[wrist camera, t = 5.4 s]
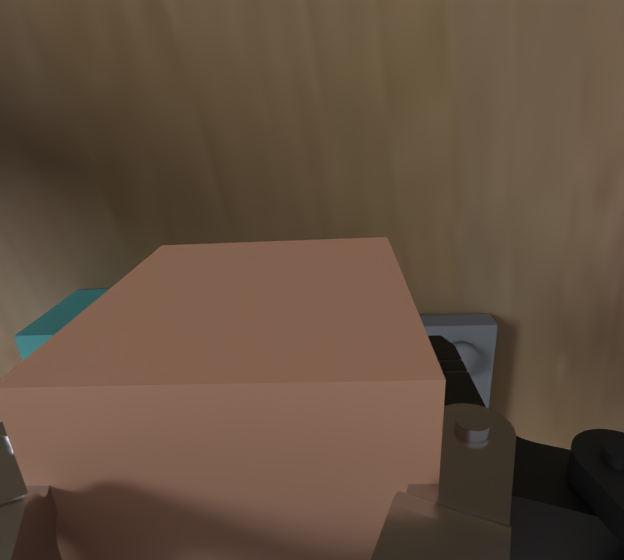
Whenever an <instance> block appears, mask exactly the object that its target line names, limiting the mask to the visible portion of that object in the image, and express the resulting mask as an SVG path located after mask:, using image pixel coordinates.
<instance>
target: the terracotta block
mask: <svg viewBox="0 0 624 560" xmlns="http://www.w3.org/2000/svg"><path fill="white" fill-rule="evenodd" d="M445 384H446V379H445V377H444V374H443V372H442V369H441V367H440V364H439V362H438V360H437V357H436V355H435V352H434V350H433V347H432V345H431V342H430V340H429V338H428V335H427V333H426V330H425V328H424V325H423V323H422V321H421V318H420V316H419V313H418V311H417V308H416V306H415V303H414V301H413V299H412V296H411V294H410V291H409V289H408V286H407V284H406V281H405V279H404V277H403V274H402V272H401V269H400V267H399V264H398V262H397V260H396V257H395V255H394V252H393V250H392V247H391V245H390V242H389V240H388V238H387V237H374V238H347V239H320V240H293V241H265V242H238V243H211V244H184V245H162V246H161V247H160V248H158V249H157V250H156V251H155V252H153V253H152V254H151V255H150V256H149V257H147V258H146V259H145V260H144V261H143V262H141V263H140V264H139V265H138V266H137V267H135V268H134V269H133V270H132V271H131V272H129V273H128V274H127V275H126V276H125V277H123V278H122V279H121V280H120V281H119V282H117V283H116V284H115V285H114V286H113V287H111V288H110V289H109V290H108V291H107V292H105V293H104V294H103V295H102V296H101V297H99V298H98V299H97V300H96V301H94V302H93V303H92V304H91V305H90V306H88V307H87V308H86V309H85V310H84V311H82V312H81V313H80V314H79V315H78V316H76V317H75V318H74V319H73V320H72V321H70V322H69V323H68V324H67V325H66V326H64V327H63V328H62V329H61V330H60V331H58V332H57V333H56V334H55V335H54V336H52V337H51V338H50V339H49V340H48V341H46V342H45V343H44V344H43V345H42V346H40V347H39V348H38V349H37V350H35V351H34V352H33V353H32V354H31V355H29V356H28V357H27V358H26V359H25V360H23V361H22V362H21V363H20V364H19V365H17V366H16V367H15V368H14V369H13V370H11V371H10V372H9V373H8V374H7V375H5V376H4V377H3V378H2V379H1V380H0V417H1V419H2V422H3V425H4V428H5V430H6V433H7V436H8V439H9V441H10V444H11V447H12V450H13V452H14V455H15V458H16V461H17V463H18V466H19V469H20V471H21V474H22V477H23V480H24V482H25V485H26V486H50V489H51V492H52V495H53V498H54V501H55V504H56V507H57V510H58V512H57V518H56V537H57V544H58V549H59V552H60V555H61V557H62V560H371V557H372V555H373V552H374V549H375V546H376V544H377V541H378V538H379V536H380V533H381V530H382V528H383V525H384V522H385V519H386V517H387V514H388V511H389V509H390V506H391V503H392V501H393V498H394V496H395V495H396V493H397V492H398V491H402V492H405V493H406V491H407V488H408V485H409V484H439V474H440V459H441V444H442V429H443V414H444V399H445Z"/></svg>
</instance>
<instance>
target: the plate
mask: <svg viewBox="0 0 624 560" xmlns="http://www.w3.org/2000/svg"><path fill="white" fill-rule="evenodd" d="M419 316H420V318H421V321H422V323H423V325H424V328H425V330H426V333H427V335H428V336H433V335H441V336H443V337H444V338H445V339H447V340H448V341H449V342H451V343H452V344H453V345H455V347H456V349H457V351H458V353H459V355H460V357H461V358H462V361H463V362H464V364H465V366H466V368H467V372H469V374H470V376H471V378H472V380H473V382H474V384H475V386H476V388H477V390H478V392H479V394H480V396H481V398H482V400H483V402H484V404H485V406H486V408H489V400H490V391H491V382H492V373H493V364H494V355H495V346H496V337H497V328H498V325H497V323H496V322H495V320H494V319H493V318H492V316H491V315H490V314H452V315H419Z"/></svg>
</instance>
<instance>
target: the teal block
mask: <svg viewBox="0 0 624 560" xmlns="http://www.w3.org/2000/svg"><path fill="white" fill-rule="evenodd" d="M108 290H109V289H89V290H77V291H76V292H74V293H73V294H72V295H70V296H69V297H67V298H66V299H65V300H63V301H62V302H60V303H59V304H58V305H56V306H55V307H54V308H52V309H51V310H49V311H48V312H47V313H45V314H44V315H43V316H41V317H40V318H38V319H37V320H36V321H34V322H33V323H31V324H30V325H29V326H27V327H26V328H25V329H23V330H22V331H20V332H19V333H18V334H16V335H15V339H16V342H17V345H18V349H19V352H20V355H21V358H22V361H23V360H25V359H26V358H27V357H28V356H29V355H31V354H32V353H33V352H34V351H35V350H37V349H38V348H39V347H40V346H42V345H43V344H44V343H45V342H46V341H48V340H49V339H50V338H51V337H52V336H54V335H55V334H56V333H57V332H58V331H60V330H61V329H62V328H63V327H64V326H66V325H67V324H68V323H69V322H70V321H72V320H73V319H74V318H75V317H76V316H78V315H79V314H80V313H81V312H82V311H84V310H85V309H86V308H87V307H88V306H90V305H91V304H92V303H93V302H94V301H96V300H97V299H98V298H99V297H101V296H102V295H103V294H104V293H105V292H107V291H108Z"/></svg>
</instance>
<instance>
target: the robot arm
mask: <svg viewBox="0 0 624 560" xmlns="http://www.w3.org/2000/svg"><path fill="white" fill-rule="evenodd" d="M428 338H429V340H430V342H431V345H432V347H433V350H434V352H435V355H436V357H437V360H438V362H439V364H440V367H441V369H442V372H443V374H444V377H445V379H446V384H445V399H444V414H443V429H442V444H441V459H440V474H439V484H409V485H408V488H407V491H406V493H405V492H402V491H398V492H397V493H396V495H395V496H394V498H393V501H392V503H391V506H390V509H389V511H388V514H387V517H386V519H385V522H384V525H383V528H382V530H381V533H380V536H379V538H378V541H377V544H376V546H375V549H374V552H373V555H372V557H371V560H624V433H623V432H619V431H614V430H607V429H592V430H587V431H583V432H581V433H579V434H578V435H576V436H575V438H574V439H573V441H572V445H571V450H568V449H563V448H558V447H553V446H549V445H544V444H539V443H535V442H531V441H528V440H525V439H522V438H520V437H518V436H516V433H515V430H514V428H513V426H512V425H511V423H510V422H509V421H508V420H507V419H506V418H505V417H503V416H502V415H500V414H499V413H497V412H495V411H493V410H491V409H489V408H486V406H485V404H484V402H483V400H482V398H481V396H480V394H479V392H478V390H477V388H476V386H475V384H474V382H473V380H472V378H471V376H470V374H469V372H467V368H466V366H465V364H464V362H463V361H462V358H461V357H460V355H459V353H458V351H457V349H456V347H455V345H453V344H452V343H451V342H449V341H448V340H447V339H445V338H444V337H443V336H441V335H433V336H428ZM57 512H58V510H57V507H56V504H55V501H54V498H53V495H52V492H51V489H50V486H26V485H25V482H24V480H23V477H22V474H21V471H20V469H19V466H18V463H17V461H16V458H15V455H14V452H13V450H12V447H11V444H10V441H9V439H8V436H7V433H6V430H5V428H4V425H3V422H0V560H62V557H61V555H60V552H59V549H58V544H57V537H56V518H57Z"/></svg>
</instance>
